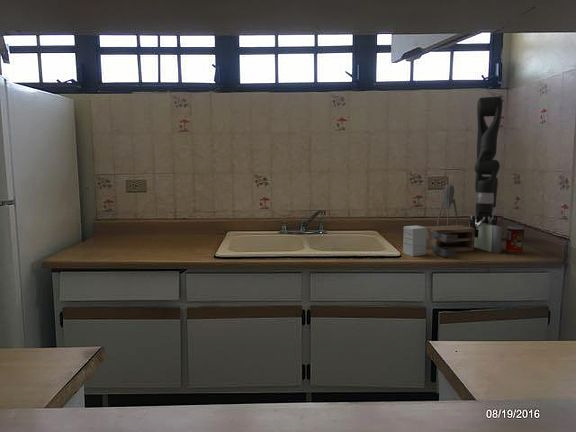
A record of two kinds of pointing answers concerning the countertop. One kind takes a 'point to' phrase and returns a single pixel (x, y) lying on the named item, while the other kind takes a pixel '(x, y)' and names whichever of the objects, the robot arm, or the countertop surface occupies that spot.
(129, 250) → the countertop surface
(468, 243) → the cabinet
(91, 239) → the countertop surface
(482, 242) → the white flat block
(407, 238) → the supplement box
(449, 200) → the citrus juicer
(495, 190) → the robot arm
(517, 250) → the soda can
